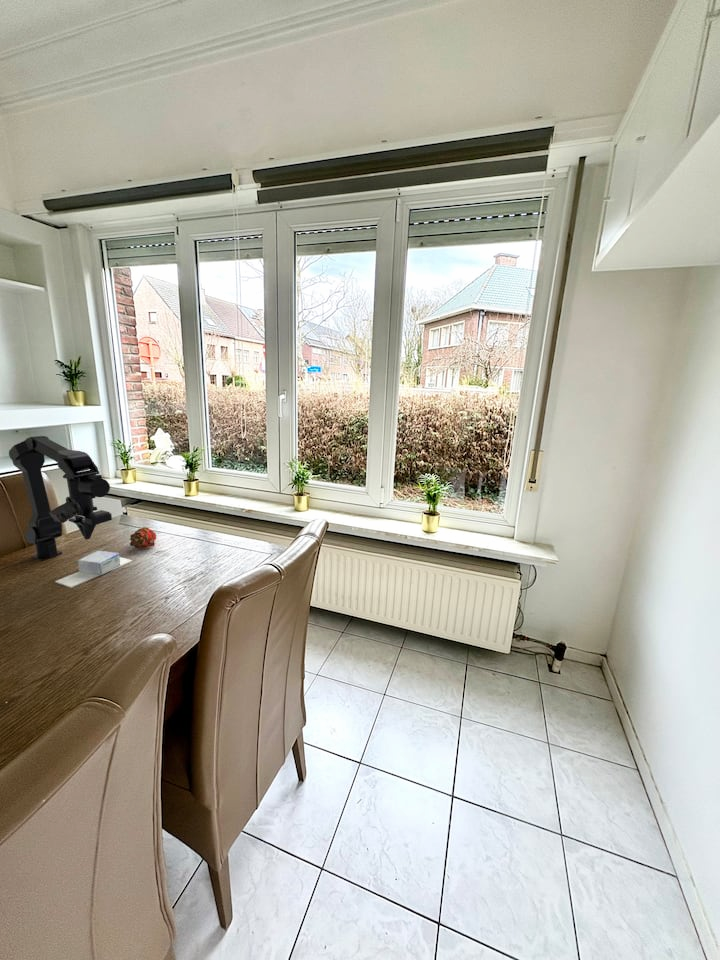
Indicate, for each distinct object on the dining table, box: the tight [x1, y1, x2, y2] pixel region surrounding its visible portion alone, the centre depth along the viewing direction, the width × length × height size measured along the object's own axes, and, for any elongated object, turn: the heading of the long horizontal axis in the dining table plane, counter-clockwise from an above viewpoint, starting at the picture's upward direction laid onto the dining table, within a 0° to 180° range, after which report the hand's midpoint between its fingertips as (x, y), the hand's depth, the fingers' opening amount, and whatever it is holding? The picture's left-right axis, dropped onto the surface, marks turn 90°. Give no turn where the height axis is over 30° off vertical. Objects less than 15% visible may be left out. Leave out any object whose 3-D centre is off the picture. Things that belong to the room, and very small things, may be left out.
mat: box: [54, 556, 133, 589], centre depth 125 cm, size 8×20×1 cm, turn 157°
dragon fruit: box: [129, 526, 157, 551], centre depth 143 cm, size 8×8×12 cm
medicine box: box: [77, 550, 121, 576], centre depth 125 cm, size 8×4×9 cm
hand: (87, 539), depth 123 cm, fingers closed
